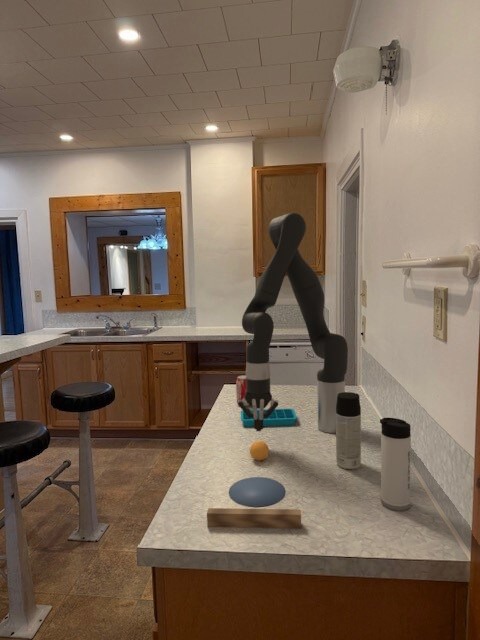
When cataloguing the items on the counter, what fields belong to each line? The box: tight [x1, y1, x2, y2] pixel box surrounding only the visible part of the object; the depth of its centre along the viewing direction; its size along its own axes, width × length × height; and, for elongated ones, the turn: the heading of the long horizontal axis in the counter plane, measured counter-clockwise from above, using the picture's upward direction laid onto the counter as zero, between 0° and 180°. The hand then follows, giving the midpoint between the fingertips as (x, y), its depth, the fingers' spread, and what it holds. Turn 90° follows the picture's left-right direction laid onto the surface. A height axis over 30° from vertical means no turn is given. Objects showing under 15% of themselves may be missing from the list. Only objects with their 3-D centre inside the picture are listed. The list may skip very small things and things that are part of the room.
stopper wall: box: [206, 507, 302, 529], centre depth 89 cm, size 20×2×3 cm, turn 85°
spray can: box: [335, 391, 362, 470], centre depth 115 cm, size 7×7×20 cm
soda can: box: [235, 374, 250, 407], centre depth 174 cm, size 7×7×12 cm
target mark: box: [228, 476, 286, 508], centre depth 103 cm, size 14×14×1 cm
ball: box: [249, 440, 270, 462], centre depth 121 cm, size 6×6×6 cm
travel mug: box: [379, 417, 412, 512], centre depth 94 cm, size 6×7×20 cm
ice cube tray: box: [240, 408, 298, 428], centre depth 153 cm, size 12×20×3 cm, turn 90°
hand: (258, 430), depth 130 cm, fingers closed
